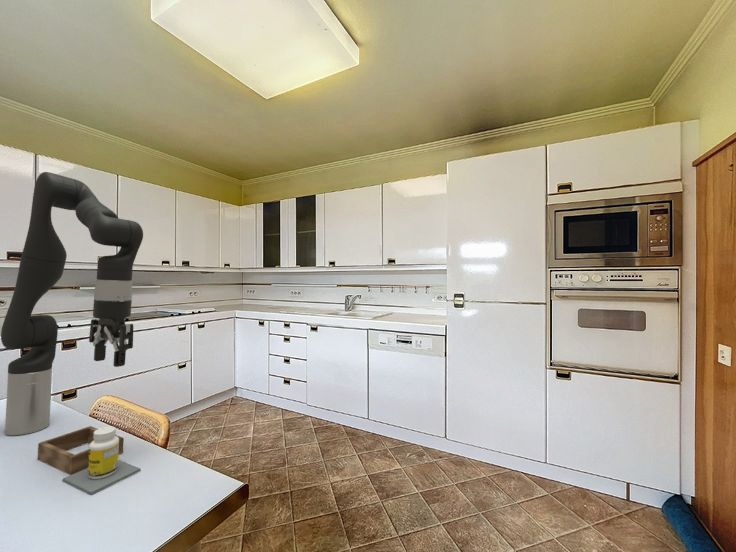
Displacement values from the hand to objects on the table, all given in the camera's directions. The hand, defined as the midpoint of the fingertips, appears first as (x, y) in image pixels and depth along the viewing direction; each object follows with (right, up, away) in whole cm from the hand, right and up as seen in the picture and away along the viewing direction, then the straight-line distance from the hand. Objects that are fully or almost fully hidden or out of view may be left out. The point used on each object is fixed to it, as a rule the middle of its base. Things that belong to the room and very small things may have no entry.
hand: (109, 363), depth 83 cm
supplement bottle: (+4, -24, -7) cm, 25 cm away
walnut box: (-8, -24, +1) cm, 25 cm away
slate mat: (+4, -24, -7) cm, 25 cm away
